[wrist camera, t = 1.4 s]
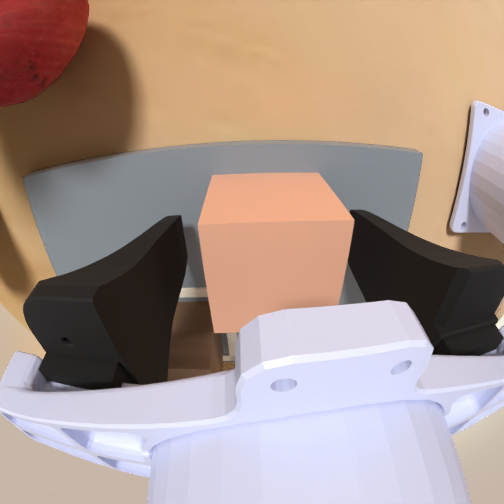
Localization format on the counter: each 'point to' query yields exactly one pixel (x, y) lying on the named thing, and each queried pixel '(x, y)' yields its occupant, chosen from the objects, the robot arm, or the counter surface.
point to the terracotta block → (271, 245)
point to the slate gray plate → (193, 196)
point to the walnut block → (194, 342)
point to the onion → (37, 44)
